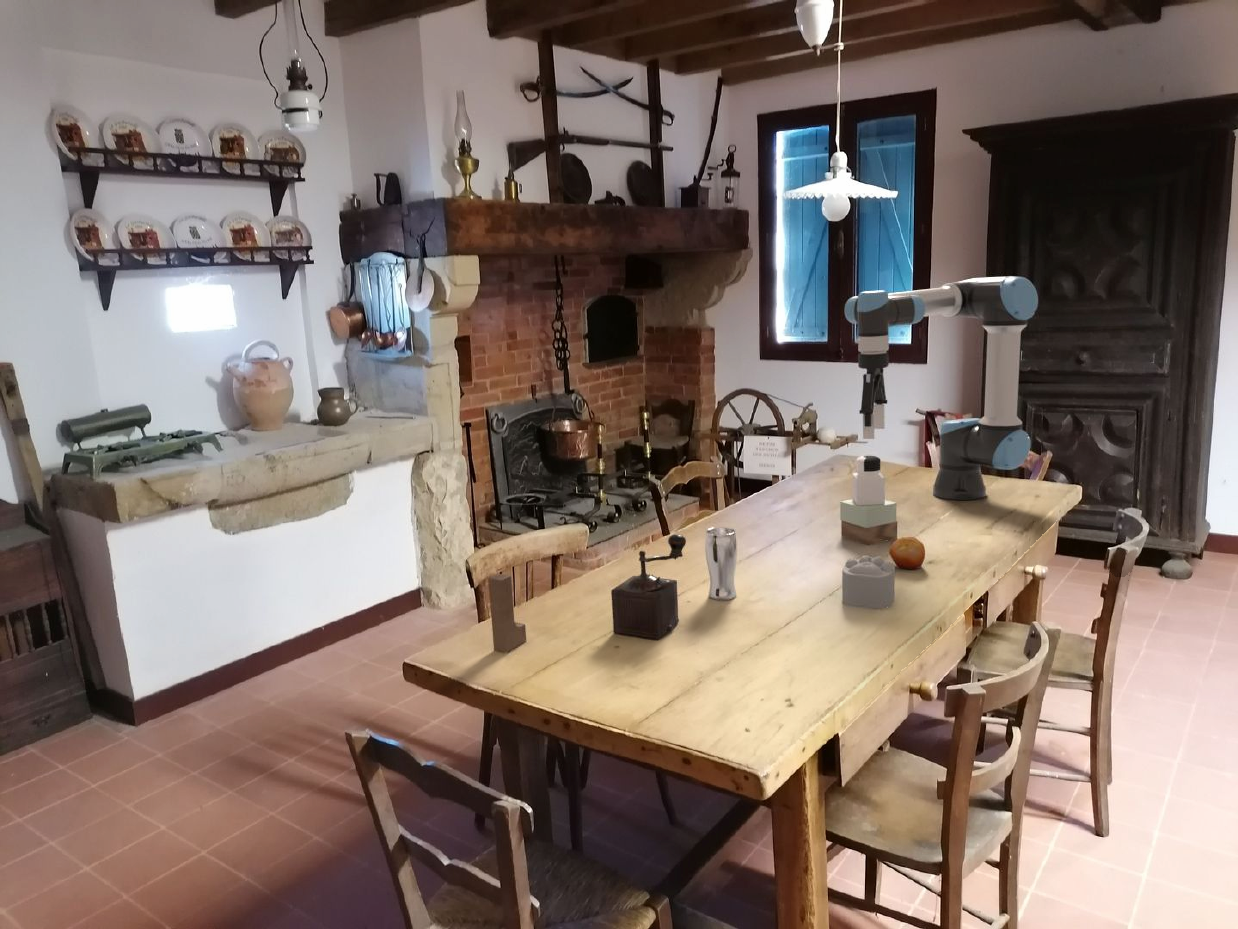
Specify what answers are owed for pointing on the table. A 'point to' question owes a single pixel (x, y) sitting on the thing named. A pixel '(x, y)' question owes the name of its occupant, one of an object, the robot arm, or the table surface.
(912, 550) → the fruit
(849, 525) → the walnut slab
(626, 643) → the table surface
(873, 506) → the sage slab
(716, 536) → the beer glass
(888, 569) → the lumpy-topped squat cylinder
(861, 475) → the medicine bottle
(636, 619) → the coffee grinder
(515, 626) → the wooden block
